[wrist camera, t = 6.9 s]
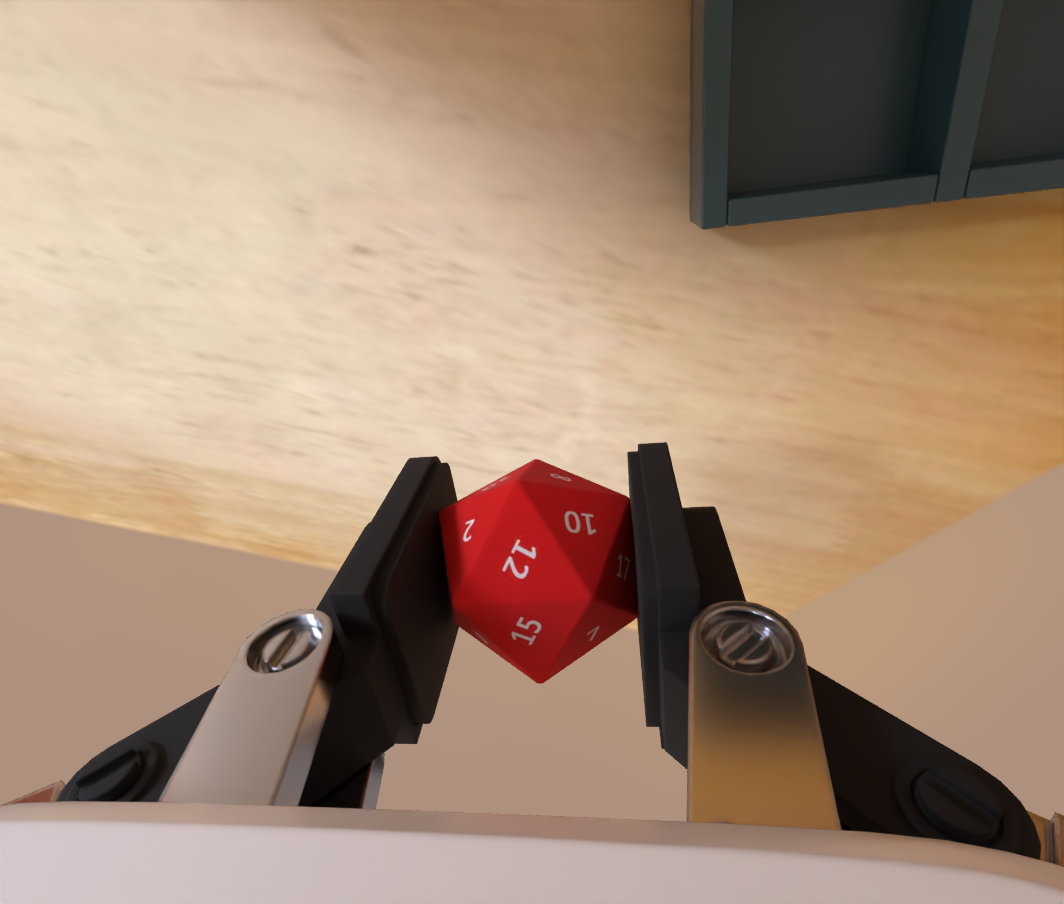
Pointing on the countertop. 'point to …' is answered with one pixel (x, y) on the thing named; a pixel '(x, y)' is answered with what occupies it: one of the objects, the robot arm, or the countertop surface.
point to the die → (540, 566)
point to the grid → (870, 105)
